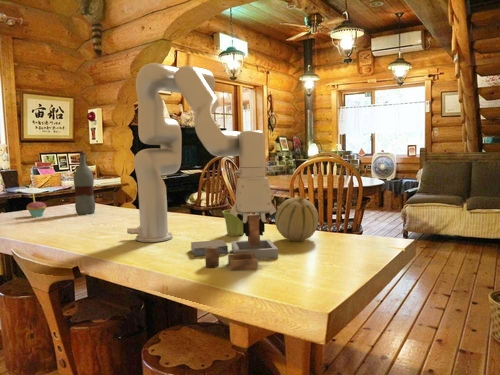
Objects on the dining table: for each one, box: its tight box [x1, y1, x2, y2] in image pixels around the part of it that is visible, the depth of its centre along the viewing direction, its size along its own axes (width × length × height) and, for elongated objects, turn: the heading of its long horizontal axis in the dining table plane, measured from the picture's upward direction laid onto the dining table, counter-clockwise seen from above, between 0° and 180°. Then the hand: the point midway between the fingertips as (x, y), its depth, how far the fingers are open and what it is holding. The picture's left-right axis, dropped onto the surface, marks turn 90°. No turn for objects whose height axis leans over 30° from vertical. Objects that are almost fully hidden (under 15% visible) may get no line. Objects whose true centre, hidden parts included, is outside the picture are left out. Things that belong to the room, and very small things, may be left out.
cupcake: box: [26, 193, 47, 218], centre depth 197 cm, size 9×8×12 cm
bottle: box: [73, 152, 96, 216], centre depth 202 cm, size 9×9×30 cm
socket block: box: [227, 253, 259, 272], centre depth 110 cm, size 7×7×2 cm
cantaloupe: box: [274, 196, 320, 242], centre depth 138 cm, size 15×15×15 cm
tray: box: [231, 239, 279, 260], centre depth 122 cm, size 12×12×3 cm
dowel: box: [247, 213, 261, 247], centre depth 121 cm, size 4×4×9 cm
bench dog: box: [204, 246, 220, 269], centre depth 111 cm, size 4×4×5 cm
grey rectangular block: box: [190, 239, 229, 258], centre depth 125 cm, size 10×8×3 cm
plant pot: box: [221, 208, 245, 237], centre depth 149 cm, size 9×9×9 cm
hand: (253, 234), depth 122 cm, fingers closed on dowel, 3 cm apart
